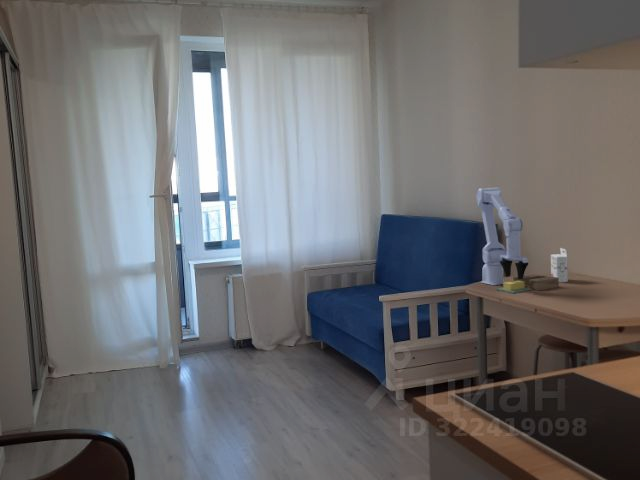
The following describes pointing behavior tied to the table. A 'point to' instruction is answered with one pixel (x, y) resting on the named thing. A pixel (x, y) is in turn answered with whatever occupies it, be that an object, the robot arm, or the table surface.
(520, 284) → the slab
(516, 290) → the mat
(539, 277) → the pocket board
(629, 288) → the table surface
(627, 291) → the table surface
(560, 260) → the ink cartridge box
